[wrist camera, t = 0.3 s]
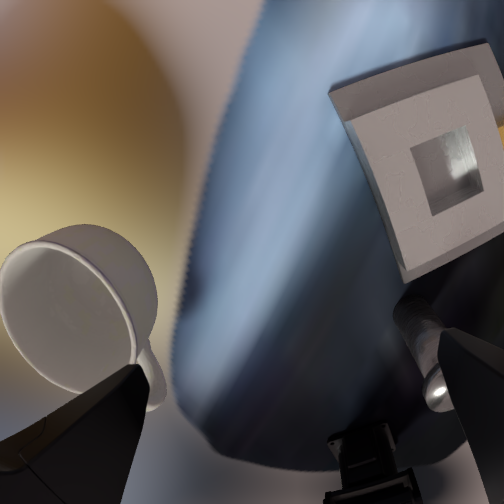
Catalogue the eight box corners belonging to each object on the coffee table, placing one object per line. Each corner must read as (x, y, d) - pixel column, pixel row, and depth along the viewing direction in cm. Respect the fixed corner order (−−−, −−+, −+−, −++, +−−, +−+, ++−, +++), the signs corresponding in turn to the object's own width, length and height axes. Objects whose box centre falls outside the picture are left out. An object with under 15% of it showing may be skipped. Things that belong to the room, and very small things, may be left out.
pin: (435, 319, 23) (484, 392, 14) (393, 340, 24) (429, 420, 15) (427, 280, 22) (485, 349, 13) (381, 302, 23) (423, 382, 14)
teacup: (37, 245, 23) (-25, 284, 16) (126, 182, 21) (58, 209, 13) (122, 372, 27) (87, 433, 20) (220, 341, 25) (200, 416, 17)
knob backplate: (552, 197, 18) (570, 204, 16) (401, 280, 22) (413, 296, 20) (508, 39, 14) (526, 34, 12) (327, 94, 18) (334, 88, 16)
